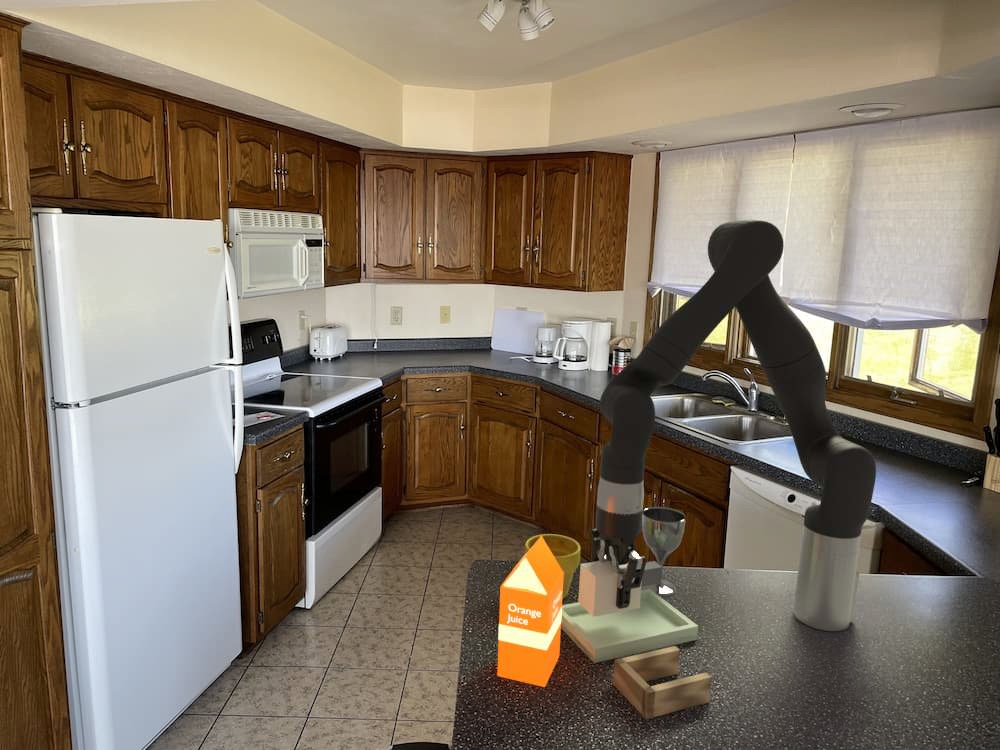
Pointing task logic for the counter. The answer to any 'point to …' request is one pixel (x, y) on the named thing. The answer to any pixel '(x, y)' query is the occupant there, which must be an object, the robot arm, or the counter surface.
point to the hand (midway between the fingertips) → (613, 598)
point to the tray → (627, 628)
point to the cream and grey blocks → (610, 586)
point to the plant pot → (561, 555)
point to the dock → (662, 696)
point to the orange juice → (531, 617)
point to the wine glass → (662, 539)
